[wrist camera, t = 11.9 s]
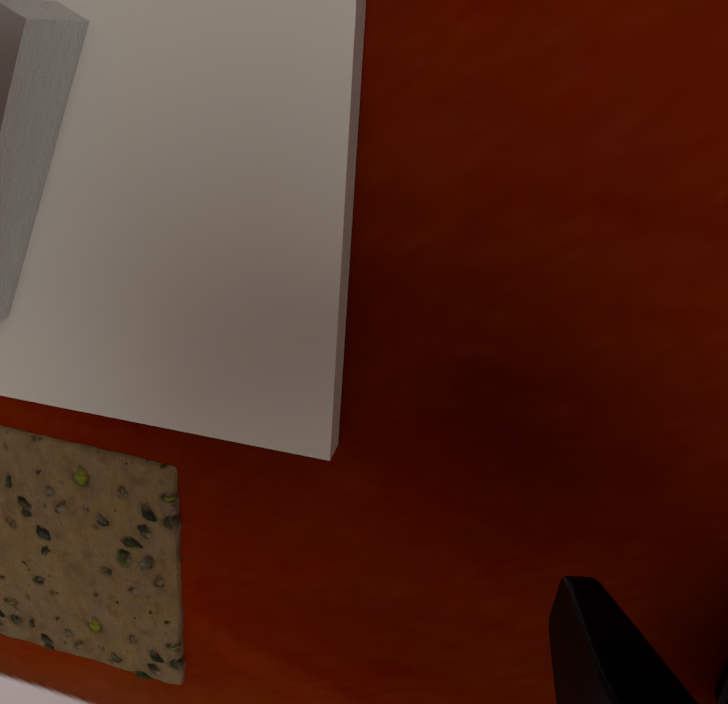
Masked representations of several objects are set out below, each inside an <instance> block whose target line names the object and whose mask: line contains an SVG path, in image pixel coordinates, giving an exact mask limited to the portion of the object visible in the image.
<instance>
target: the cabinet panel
mask: <svg viewBox="0 0 728 704" xmlns="http://www.w3.org/2000/svg"><path fill="white" fill-rule="evenodd" d="M45 1H57V2H59V3H60V4H62V5H64V6H65V7H67V8H69V9H70V10H72V11H74V12H75V13H77V14H79V15H80V16H82V17H84V18H85V19H87V20H89V25H88V28H87V32H86V36H85V39H84V43H83V47H82V50H81V54H80V58H79V61H78V65H77V69H76V72H75V76H74V80H73V83H72V87H71V91H70V94H69V98H68V102H67V105H66V109H65V113H64V116H63V120H62V124H61V127H60V131H59V135H58V138H57V142H56V146H55V149H54V153H53V157H52V160H51V164H50V168H49V171H48V175H47V179H46V182H45V186H44V190H43V193H42V197H41V201H40V204H39V208H38V212H37V215H36V219H35V223H34V226H33V230H32V234H31V237H30V241H29V245H28V248H27V252H26V256H25V259H24V263H23V267H22V270H21V274H20V278H19V281H18V285H17V289H16V292H15V296H14V300H13V303H12V307H11V311H10V314H9V316H8V317H7V318H5V319H3V320H1V321H0V395H1V396H6V397H11V398H16V399H21V400H26V401H31V402H36V403H41V404H46V405H51V406H56V407H61V408H66V409H71V410H76V411H81V412H86V413H91V414H96V415H101V416H106V417H112V418H117V419H122V420H127V421H132V422H137V423H142V424H147V425H152V426H157V427H162V428H167V429H172V430H177V431H182V432H187V433H192V434H197V435H202V436H207V437H212V438H217V439H222V440H227V441H232V442H237V443H242V444H247V445H252V446H257V447H262V448H267V449H273V450H278V451H283V452H288V453H293V454H298V455H303V456H308V457H313V458H318V459H323V460H328V461H330V460H331V458H332V456H333V454H334V452H335V450H336V448H337V446H338V439H339V424H340V408H341V392H342V376H343V360H344V344H345V328H346V312H347V297H348V281H349V265H350V249H351V233H352V217H353V201H354V185H355V170H356V154H357V138H358V122H359V106H360V90H361V74H362V59H363V43H364V27H365V11H366V0H45Z"/></svg>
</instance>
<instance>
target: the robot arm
mask: <svg viewBox="0 0 728 704" xmlns="http://www.w3.org/2000/svg"><path fill="white" fill-rule="evenodd" d="M549 637H550V646H551V656H552V665H553V674H554V683H555V692H556V702H557V704H698V703H697V701H696V700H695V699H694V698H693V696H692V695H691V694H690V693H689V692H688V690H687V689H686V688H685V687H684V685H683V684H682V683H681V682H680V680H679V679H678V678H677V677H676V676H675V674H674V673H673V672H672V671H671V669H670V668H669V667H668V666H667V664H666V663H665V662H664V661H663V659H662V658H661V657H660V656H659V655H658V653H657V652H656V651H655V650H654V648H653V647H652V646H651V645H650V643H649V642H648V641H647V640H646V639H645V637H644V636H643V635H642V634H641V632H640V631H639V630H638V629H637V627H636V626H635V625H634V624H633V623H632V621H631V620H630V619H629V618H628V616H627V615H626V614H625V613H624V611H623V610H622V609H621V608H620V607H619V605H618V604H617V603H616V602H615V600H614V599H613V598H612V597H611V595H610V594H609V593H608V592H607V591H606V589H605V588H604V587H603V586H602V584H601V583H600V582H599V581H597V580H596V579H594V578H591V577H579V576H565V577H563V578H562V580H561V581H560V584H559V587H558V590H557V594H556V597H555V600H554V604H553V607H552V610H551V614H550V619H549ZM715 697H716V701H717V704H728V661H727V663H726V666H725V668H724V670H723V673H722V675H721V677H720V680H719V682H718V684H717V687H716V689H715Z"/></svg>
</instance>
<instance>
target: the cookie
mask: <svg viewBox="0 0 728 704" xmlns="http://www.w3.org/2000/svg"><path fill="white" fill-rule="evenodd" d="M177 478H178V471H177V468H176V467H175V466H172V465H166V464H162V463H158V462H155V461H152V460H146V459H143V458H140V457H136V456H131V455H127V454H124V453H119V452H113V451H108V450H103V449H100V448H97V447H94V446H91V445H86V444H81V443H73V442H68V441H64V440H60V439H55V438H52V437H49V436H44V435H37V434H33V433H30V432H26V431H22V430H18V429H13V428H9V427H4V426H1V425H0V634H4V635H6V636H9V637H11V638H17V639H22V640H26V641H30V642H33V643H35V644H38V645H42V646H45V647H46V648H47V649H49V650H51V649H53V648H54V649H56V650H59V651H63V652H67V653H70V654H73V655H77V656H80V657H86V658H90V659H93V660H97V661H100V662H103V663H106V664H109V665H112V666H114V667H117V668H120V669H123V670H128V671H132V672H134V674H135V675H136V676H137V677H140V678H148V679H158V680H160V681H162V682H165V683H168V684H177V685H180V684H182V683H183V681H184V677H185V675H184V670H185V666H186V665H185V660H184V657H183V655H184V649H183V647H184V641H183V633H182V631H183V626H184V624H183V618H184V613H183V606H182V599H181V578H180V577H181V568H180V566H181V561H182V558H181V557H180V544H181V540H180V532H181V522H180V519H179V495H178V485H177Z"/></svg>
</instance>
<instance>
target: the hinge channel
mask: <svg viewBox="0 0 728 704" xmlns="http://www.w3.org/2000/svg"><path fill="white" fill-rule="evenodd" d="M88 25H89V20H87V19H85V18H84V17H82V16H80V15H79V14H77V13H75V12H74V11H72V10H70V9H69V8H67V7H65V6H64V5H62V4H60V3H59V2H57V1H45V0H0V321H1V320H3V319H5V318H7V317H8V316H9V314H10V311H11V307H12V303H13V300H14V296H15V292H16V289H17V285H18V281H19V278H20V274H21V270H22V267H23V263H24V259H25V256H26V252H27V248H28V245H29V241H30V237H31V234H32V230H33V226H34V223H35V219H36V215H37V212H38V208H39V204H40V201H41V197H42V193H43V190H44V186H45V182H46V179H47V175H48V171H49V168H50V164H51V160H52V157H53V153H54V149H55V146H56V142H57V138H58V135H59V131H60V127H61V124H62V120H63V116H64V113H65V109H66V105H67V102H68V98H69V94H70V91H71V87H72V83H73V80H74V76H75V72H76V69H77V65H78V61H79V58H80V54H81V50H82V47H83V43H84V39H85V36H86V32H87V28H88Z"/></svg>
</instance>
